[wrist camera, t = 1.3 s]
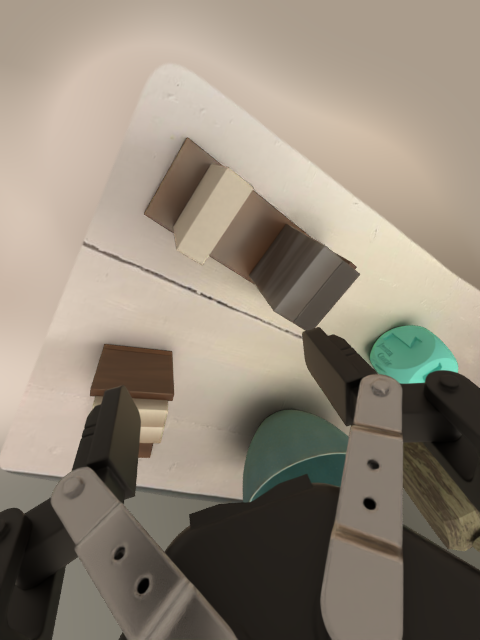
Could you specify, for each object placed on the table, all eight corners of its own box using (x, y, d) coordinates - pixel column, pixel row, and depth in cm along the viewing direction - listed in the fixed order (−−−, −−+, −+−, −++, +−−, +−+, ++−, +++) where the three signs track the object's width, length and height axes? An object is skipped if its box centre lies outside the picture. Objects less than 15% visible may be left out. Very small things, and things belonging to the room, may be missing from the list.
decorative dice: (408, 316, 44) (453, 345, 37) (421, 349, 48) (464, 381, 41) (361, 347, 45) (397, 381, 38) (379, 377, 49) (413, 413, 42)
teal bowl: (281, 475, 56) (309, 548, 46) (204, 446, 48) (216, 527, 37) (352, 411, 52) (400, 476, 41) (281, 367, 44) (319, 434, 33)
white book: (173, 227, 30) (176, 249, 23) (211, 163, 28) (227, 166, 21) (193, 240, 31) (202, 266, 24) (231, 179, 29) (254, 188, 22)
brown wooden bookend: (144, 212, 30) (136, 236, 21) (186, 137, 28) (197, 129, 19) (279, 298, 38) (313, 341, 29) (320, 245, 36) (370, 274, 27)
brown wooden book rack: (104, 343, 36) (87, 399, 28) (172, 351, 38) (174, 404, 30) (93, 451, 43) (76, 520, 35) (150, 452, 46) (147, 516, 38)
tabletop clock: (424, 445, 62) (561, 597, 41) (385, 464, 63) (500, 626, 41) (416, 402, 55) (578, 562, 33) (371, 425, 55) (503, 597, 34)
